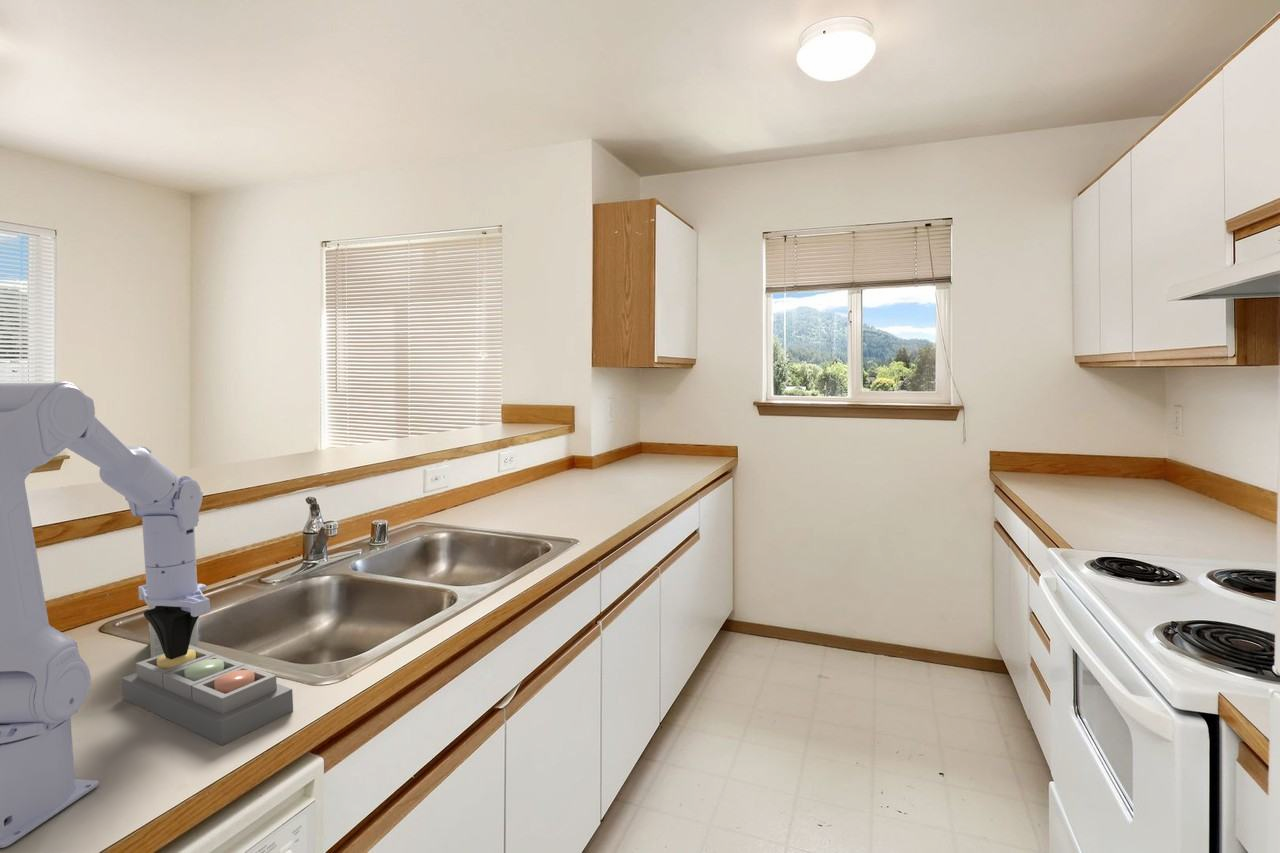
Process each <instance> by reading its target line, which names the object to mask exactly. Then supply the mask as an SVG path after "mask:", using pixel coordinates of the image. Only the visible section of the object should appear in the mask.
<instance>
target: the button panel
mask: <svg viewBox="0 0 1280 853" xmlns="http://www.w3.org/2000/svg"><path fill="white" fill-rule="evenodd" d="M188 649H192V650H195V651H196V659H195V660H192V661H189V662H186V663H184V664H181V665H178V666H175V667H173V668H170V669H167V670H164V669H162V668H159V667H157V658H158V657H160V656H161V655H163V654H161V655H158V656H155V657H153V658H151V657H150V658H147V659H144V660H142V661H138V662H135V667H136V668H135V669H136V672H134V673H132V674H128V675H126V676H123V677H121V688H122V700H124V701H127V702H129V703H132V704H134V705H135V706H136V707H137V706H138V707H140V708H142V709H144V710H146V711H148V712H151V713H153V714H154V715H157V716H159V717H161V718H163V719H165V720H167V721H170V722H171V723H174V724H176V725H177V726H180V727H183V728H185V729H187V730H189V731H190V732H193V733H195V734H198V735H199V736H202V737H204V738H206V739H208V740H210V741H211V742H215V743H216V744H219V745H221V746H224V745H227V744H228V743H230V742H233V741H234V740H237V739H239V738H240V737H243V736H244V735H246V734H249V733H251V732H253V731H255V730H257V729H259V728H261V727H263V726H265V725H267V724H269V723H271V722H273V721H276V720H277V719H279V718H282V717H283V716H286V715H287V714H290V713H291V712H293V711H294V701H293V700H294V699H293V697H294V696H293V695H294V694H293V688H290V687H288V686H285V685H282V684H279V683H278V682H277V675H276V674H273V673H271V672H267V671H265V670H262V669H259V668H256V667H254V666H251V665H248V664H245V663H242V662H239V661H238V660H237V661H236V660H233V659H231V658H229V657H225V656H222V655H220V654H216V653H215V652H211V651H209V650H205V649H202V648H200V647H198V648H197V647H195V646H192V645H189V648H188ZM209 659H220V660H223V661H224V670H223V671H220V672H218V673H215V674H212V675H210V676H207V677H205V678H202V679H200V680H197V681H192V680H189V679H187V678H185V672H184V670H185V668H187V667H188V666H190V665H192V664H194V663H196V662H200V661H204V660H209ZM238 670H251V671H253V672H254V677H255V682H253V683H250V684H248V685H246V686H243V687H241V688H238V689H236V690H234V691H231V692H229V693H227V694H224V693H221V692H219V691H216V690H215V687H214V681H215V680H216V679H217V678H218V677H220V676H221V675H224V674H226V673H229V672H233V671H238ZM250 731H251V732H250ZM248 732H249V733H248Z"/></svg>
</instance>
